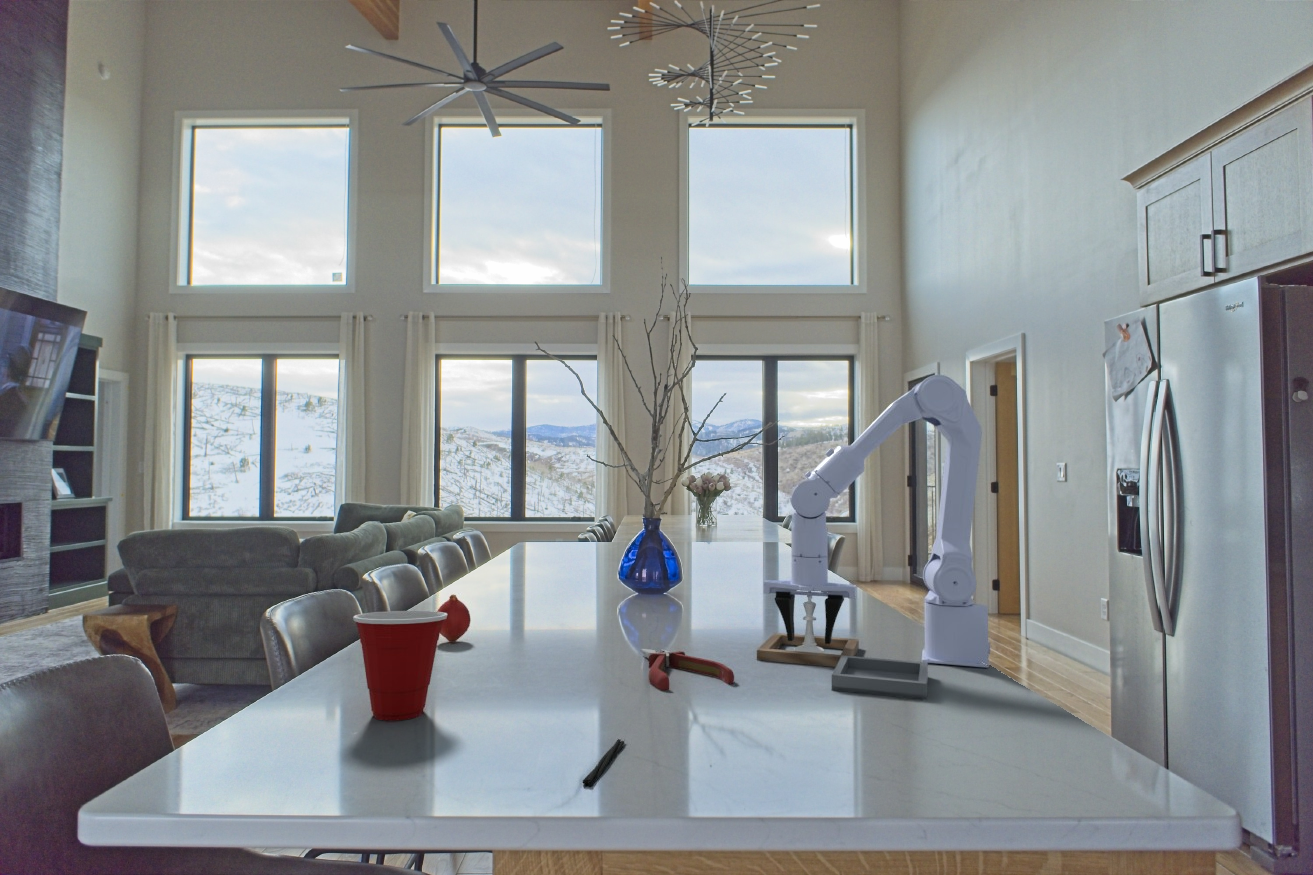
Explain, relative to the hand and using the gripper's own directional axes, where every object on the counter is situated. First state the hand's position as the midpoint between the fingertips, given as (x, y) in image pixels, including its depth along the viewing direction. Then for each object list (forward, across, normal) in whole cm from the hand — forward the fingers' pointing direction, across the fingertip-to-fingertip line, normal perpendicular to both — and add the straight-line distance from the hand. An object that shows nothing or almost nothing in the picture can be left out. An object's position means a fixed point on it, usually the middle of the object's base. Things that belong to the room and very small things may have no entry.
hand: (809, 641), depth 127 cm
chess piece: (+2, 0, 0) cm, 2 cm away
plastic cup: (+2, -41, -49) cm, 64 cm away
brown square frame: (+2, 0, 0) cm, 2 cm away
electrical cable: (+2, -12, -55) cm, 56 cm away
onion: (+2, -57, -14) cm, 59 cm away
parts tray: (+2, +12, -14) cm, 19 cm away
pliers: (+3, -15, -17) cm, 23 cm away
